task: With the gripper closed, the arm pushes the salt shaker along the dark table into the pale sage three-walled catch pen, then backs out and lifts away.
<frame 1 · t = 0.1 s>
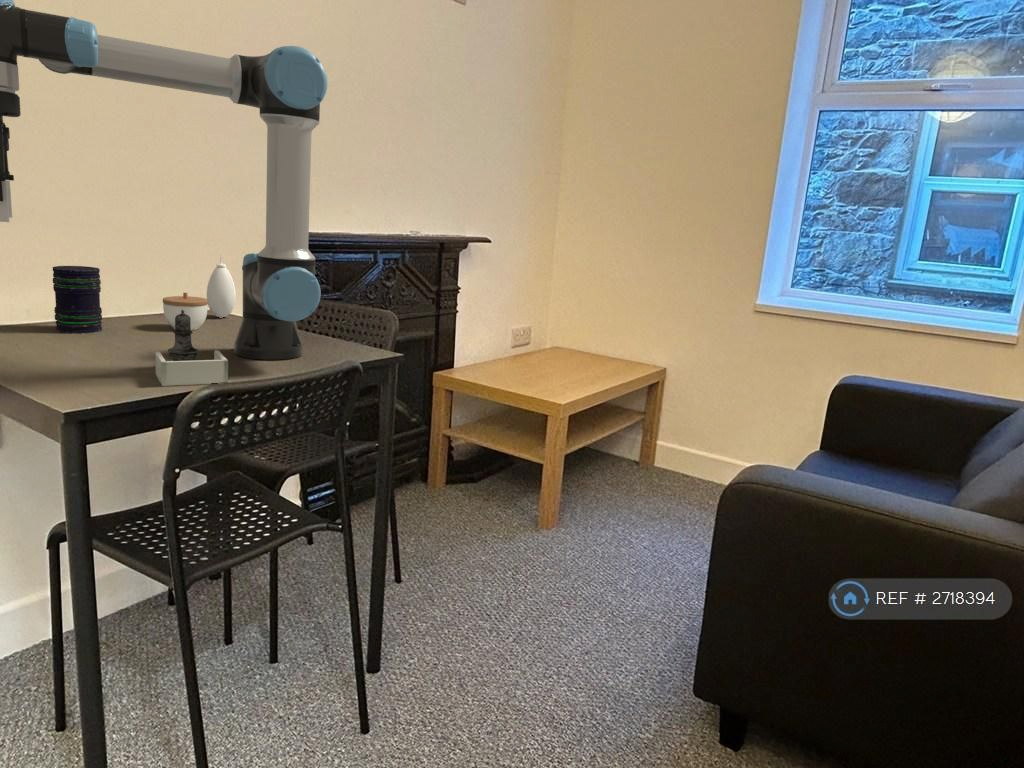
hand: (1, 219, 125), 28 cm above the table, fingers open, 13 cm apart
catch pen: (191, 378, 141), on the table
storage jar: (79, 330, 175), on the table
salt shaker: (183, 368, 149), on the table
lidded jar: (185, 329, 189), on the table
white elongated ovoid: (221, 318, 209), on the table
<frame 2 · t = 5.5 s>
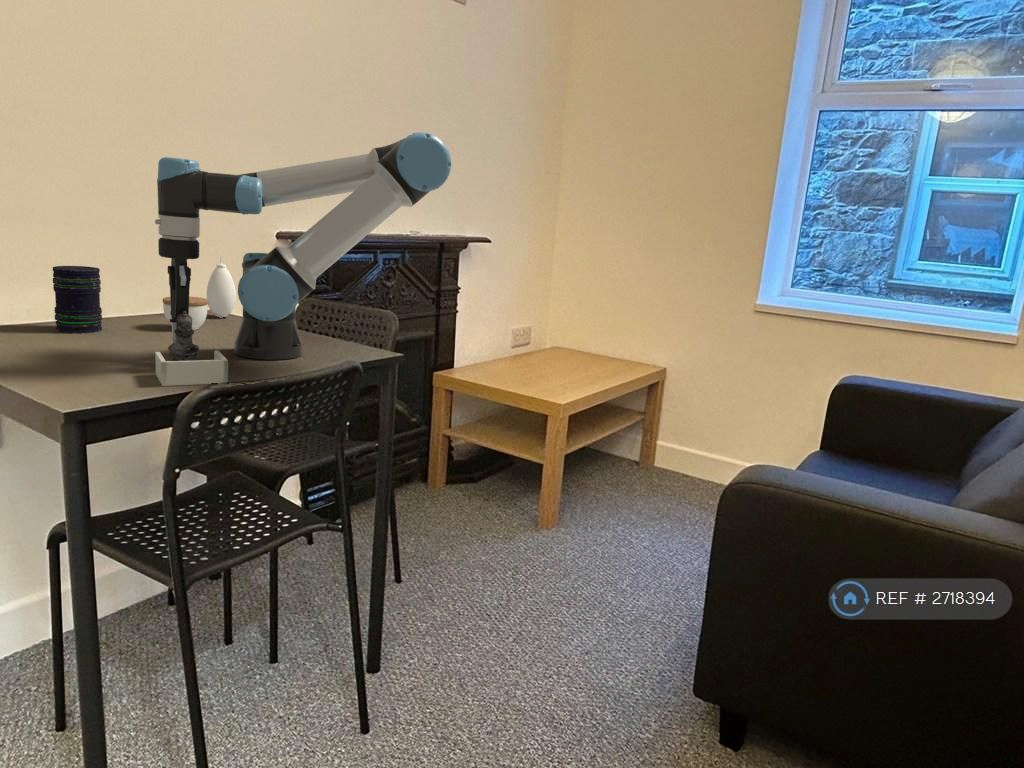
hand: (179, 352, 151), 3 cm above the table, fingers closed
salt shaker: (183, 364, 149), on the table, touching gripper
everything else where it was.
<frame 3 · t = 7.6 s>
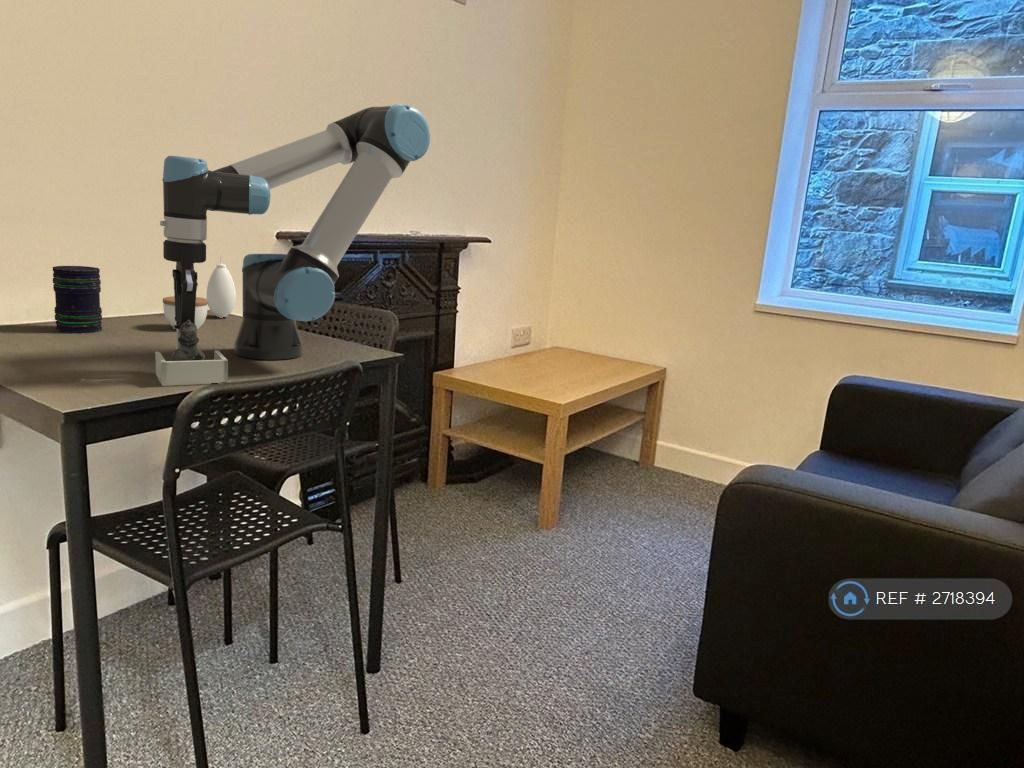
hand: (184, 359, 144), 3 cm above the table, fingers closed
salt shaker: (188, 371, 143), point 1 cm above the table, touching gripper
everything else where it was.
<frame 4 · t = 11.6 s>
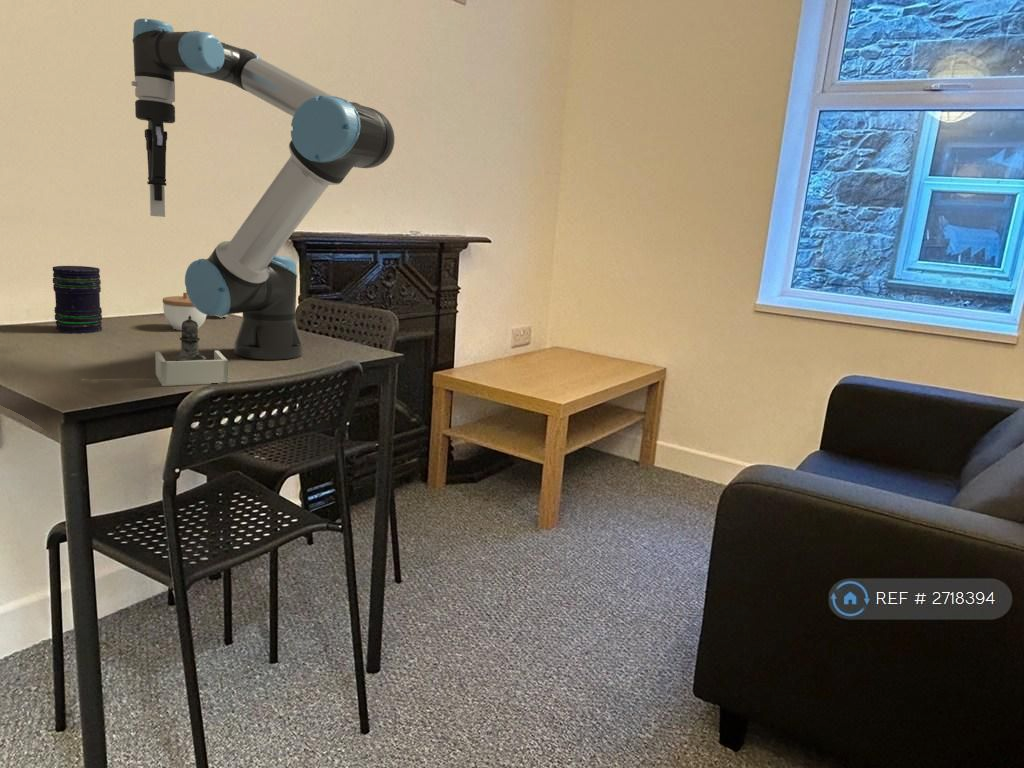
hand: (157, 216, 157), 29 cm above the table, fingers closed
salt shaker: (189, 376, 143), on the table
everything else where it was.
at the end: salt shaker inside the target area (3.0 cm from its centre), on the table; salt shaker tilted 1° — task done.
